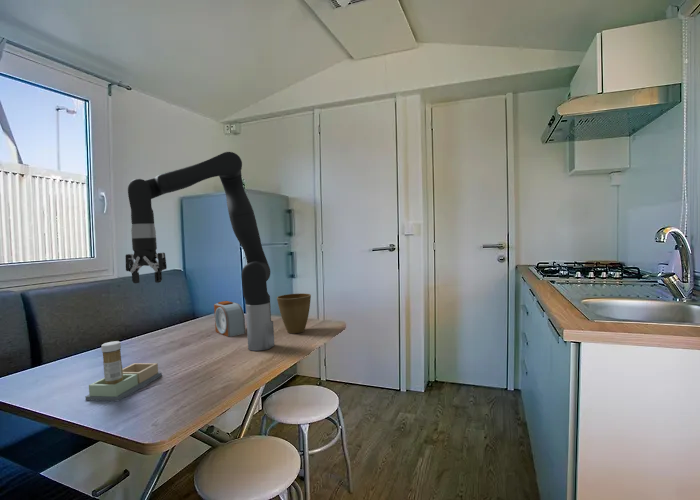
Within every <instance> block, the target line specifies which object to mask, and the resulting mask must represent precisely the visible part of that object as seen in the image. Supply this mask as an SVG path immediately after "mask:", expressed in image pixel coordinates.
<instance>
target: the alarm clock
mask: <svg viewBox="0 0 700 500" xmlns="http://www.w3.org/2000/svg"><path fill="white" fill-rule="evenodd" d="M213 310H214V326H215V330H214V331H215V333H216V334H220V335H223V336H225V337H227V338H230V337H231V338H232V337H235V336H238V335H243V334H247V331H246V317H245V313H244V312H245V311H244V310H243V308H242V306H241V304H239V303H237V302H234V301H233V302H232V301H227V300H223V301H218V302H217V303H214V304H213Z"/></svg>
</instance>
